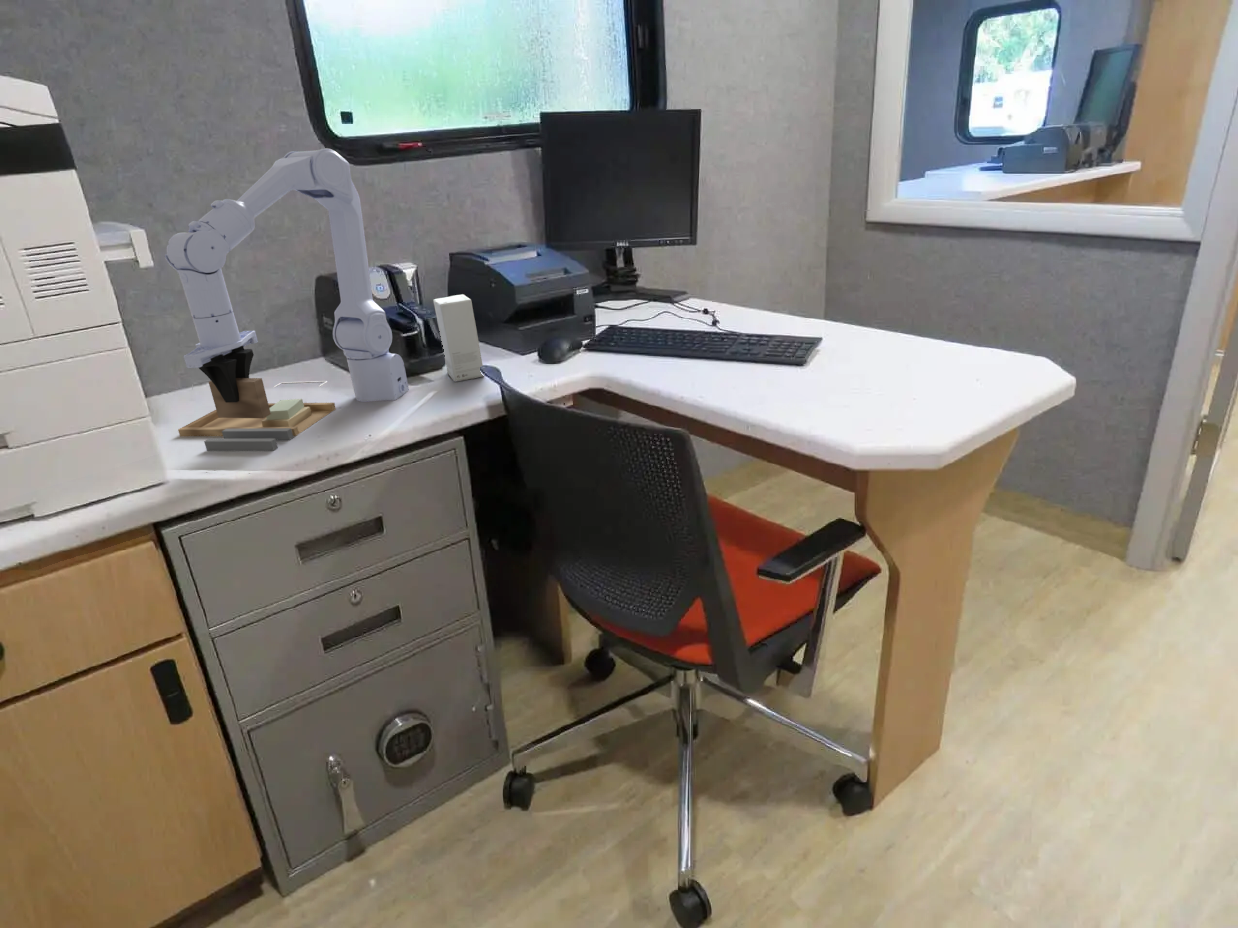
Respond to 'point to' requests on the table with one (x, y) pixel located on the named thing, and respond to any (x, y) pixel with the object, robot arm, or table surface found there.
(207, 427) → the tray
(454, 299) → the skincare box
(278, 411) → the offcut
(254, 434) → the holder
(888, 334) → the table surface
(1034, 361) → the table surface
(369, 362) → the robot arm
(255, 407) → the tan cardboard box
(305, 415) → the offcut
